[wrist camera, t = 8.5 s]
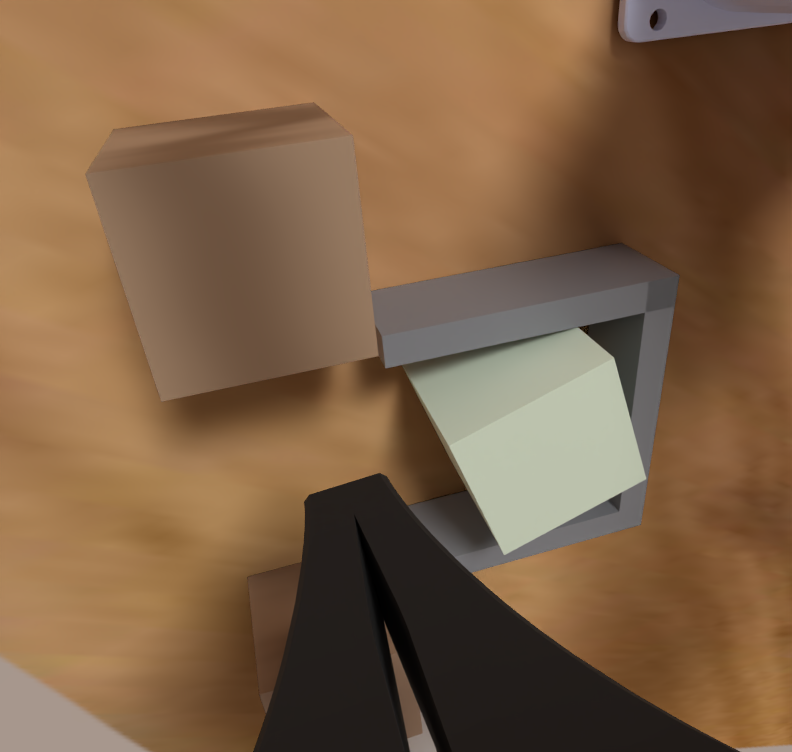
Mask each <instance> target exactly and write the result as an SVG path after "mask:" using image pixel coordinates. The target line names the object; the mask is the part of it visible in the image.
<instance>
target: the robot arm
mask: <svg viewBox="0 0 792 752" xmlns="http://www.w3.org/2000/svg"><path fill="white" fill-rule="evenodd" d="M655 10H656V11H657V13H658V21H657V24H656V25H655V26H654V28H653V29H652V28H651V27H650V22H649V21H650V17H651V15H652V13H653V12H654V11H655ZM787 23H792V0H620V4H619V16H618V31H619V33H620V35H621V37H622V38H623V39H624V40H625V41H629V42H638V43H639V42H647V41H655V40H662V39H670V38H678V37H686V36H693V35H701V34H709V33H717V32H725V31H732V30H740V29H748V28H756V27H764V26H771V25H779V24H787ZM304 505H305V533H304V545H303V554H302V563H301V569H300V575H299V582H298V588H297V594H296V600H295V605H294V610H293V615H292V619H291V624H290V628H289V632H288V637H287V641H286V645H285V650H284V654H283V658H282V662H281V666H280V669H279V673H278V677H277V680H276V684H275V687H274V690H273V694H272V697H271V700H270V703H269V707H268V710H267V713H266V716H265V719H264V722H263V726H262V729H261V731H260V734H259V737H258V740H257V743H256V745H255V748H254V751H253V752H410V749H409V744H408V739H407V734H406V729H405V724H404V719H403V714H402V709H401V704H400V699H399V693H398V688H397V683H396V678H395V673H394V668H393V663H392V658H391V653H390V648H389V643H388V638H387V633H386V628H385V625H386V627H387V629H388V632H389V634H390V637H391V639H392V642H393V644H394V647H395V649H396V652H397V654H398V657H399V659H400V662H401V664H402V666H403V669H404V671H405V674H406V676H407V679H408V681H409V684H410V686H411V689H412V691H413V693H414V696H415V698H416V701H417V703H418V706H419V708H420V711H421V713H422V716H423V718H424V720H425V723H426V725H427V728H428V730H429V733H430V735H431V738H432V740H433V743H434V745H435V748H436V751H437V752H740V751H738V750H736V749H734V748H732V747H730V746H728V745H726V744H724V743H722V742H720V741H718V740H716V739H714V738H713V737H711V736H709V735H707V734H705V733H703V732H701V731H700V730H698V729H696V728H694V727H692V726H690V725H688V724H686V723H685V722H683V721H681V720H679V719H677V718H676V717H674V716H672V715H671V714H669V713H667V712H665V711H664V710H662V709H660V708H658V707H657V706H655V705H653V704H652V703H650V702H648V701H646V700H645V699H643V698H641V697H639V696H638V695H636V694H634V693H633V692H631V691H630V690H628V689H627V688H625V687H623V686H622V685H620V684H619V683H617V682H616V681H614V680H613V679H611V678H609V677H608V676H606V675H605V674H603V673H602V672H600V671H599V670H597V669H595V668H594V667H592V666H591V665H589V664H588V663H586V662H585V661H583V660H581V659H580V658H578V657H577V656H575V655H574V654H572V653H571V652H569V651H568V650H567V649H565V648H564V647H562V646H561V645H560V644H558V643H557V642H556V641H554V640H553V639H551V638H550V637H549V636H547V635H546V634H544V633H543V632H542V631H540V630H539V629H538V628H536V627H535V626H534V625H533V624H531V623H530V622H529V621H527V620H526V619H525V618H523V617H522V616H521V615H520V614H518V613H517V612H516V611H515V610H513V609H512V608H511V607H510V606H508V605H507V604H506V603H505V602H504V601H502V600H501V599H500V598H499V597H498V596H497V595H495V594H494V593H493V592H492V591H491V590H490V589H488V588H487V587H486V586H485V585H484V584H483V583H482V582H481V581H479V580H478V579H477V578H476V577H475V576H474V575H473V574H472V573H471V572H469V571H468V570H467V569H466V568H465V567H464V566H463V565H462V564H461V563H460V562H459V561H458V560H457V559H456V558H455V557H454V556H453V555H452V554H451V553H450V552H449V551H448V550H447V549H446V548H445V547H444V546H443V545H442V544H441V543H440V542H439V541H438V540H437V539H436V538H435V537H434V536H433V535H432V534H431V532H430V531H429V530H428V529H427V528H426V527H425V526H424V525H423V524H422V523H421V521H420V520H419V519H418V518H417V517H416V515H415V514H414V513H413V512H412V511H411V510H410V508H409V507H408V506H407V505H406V503H405V502H404V501H403V500H402V498H401V497H400V496H399V494H398V493H397V492H396V490H395V489H394V487H393V486H392V484H391V483H390V481H389V479H388V478H387V476H385V475H383V474H380V473H378V474H375V475H372V476H368V477H365V478H362V479H359V480H356V481H352V482H349V483H346V484H343V485H339V486H336V487H333V488H330V489H327V490H323V491H320V492H317V493H314V494H310V495H309V496H308V497H307V499H306V500H305V502H304ZM384 622H385V623H384Z"/></svg>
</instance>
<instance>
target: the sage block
mask: <svg viewBox="0 0 792 752" xmlns="http://www.w3.org/2000/svg"><path fill="white" fill-rule="evenodd" d="M402 366H403V368H404V370H405V372H406V374H407V376H408V378H409V380H410V382H411V384H412V386H413V388H414V390H415V392H416V394H417V396H418V398H419V400H420V401H421V403H422V405H423V407H424V409H425V411H426V413H427V415H428V417H429V419H430V421H431V423H432V425H433V427H434V429H435V431H436V433H437V435H438V436H439V438H440V440H441V442H442V444H443V446H444V448H445V450H446V452H447V454H448V456H449V458H450V460H451V462H452V463H453V465H454V467H455V469H456V470H457V472H458V474H459V476H460V478H461V479H462V481H463V483H464V485H465V486H466V488H467V490H468V492H469V494H470V495H471V497H472V499H473V501H474V502H475V504H476V506H477V508H478V509H479V511H480V513H481V515H482V517H483V518H484V520H485V522H486V524H487V525H488V527H489V529H490V531H491V533H492V534H493V536H494V538H495V540H496V541H497V543H498V545H499V547H500V548H501V550H502V552H503V554H504V555H506V554H507V553H509V552H511V551H513V550H515V549H517V548H519V547H521V546H522V545H524V544H526V543H528V542H530V541H532V540H534V539H535V538H537V537H539V536H541V535H543V534H545V533H547V532H549V531H550V530H552V529H554V528H556V527H558V526H560V525H562V524H563V523H565V522H567V521H569V520H571V519H573V518H575V517H577V516H578V515H580V514H582V513H584V512H586V511H588V510H590V509H591V508H593V507H595V506H597V505H599V504H601V503H603V502H605V501H606V500H608V499H610V498H612V497H614V496H616V495H618V494H619V493H621V492H623V491H625V490H627V489H629V488H631V487H633V486H634V485H636V484H638V483H640V482H642V481H644V480H646V476H645V472H644V468H643V464H642V461H641V457H640V453H639V449H638V446H637V442H636V438H635V434H634V431H633V427H632V423H631V419H630V416H629V412H628V408H627V404H626V401H625V397H624V393H623V389H622V386H621V382H620V378H619V374H618V371H617V367H616V363H615V359H614V357H613V356H611V355H610V354H609V353H608V352H607V351H605V350H604V349H603V348H602V347H601V346H600V345H598V344H597V343H596V342H595V341H594V340H592V339H591V338H590V337H589V336H588V335H587V334H585V333H584V332H583V331H582V330H581V329H579V328H578V327H576V328H572V329H567V330H562V331H558V332H553V333H548V334H544V335H539V336H534V337H530V338H525V339H520V340H516V341H511V342H506V343H502V344H497V345H492V346H488V347H483V348H478V349H474V350H469V351H464V352H460V353H455V354H450V355H446V356H441V357H436V358H432V359H427V360H422V361H418V362H413V363H409V364H404V365H402Z"/></svg>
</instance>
